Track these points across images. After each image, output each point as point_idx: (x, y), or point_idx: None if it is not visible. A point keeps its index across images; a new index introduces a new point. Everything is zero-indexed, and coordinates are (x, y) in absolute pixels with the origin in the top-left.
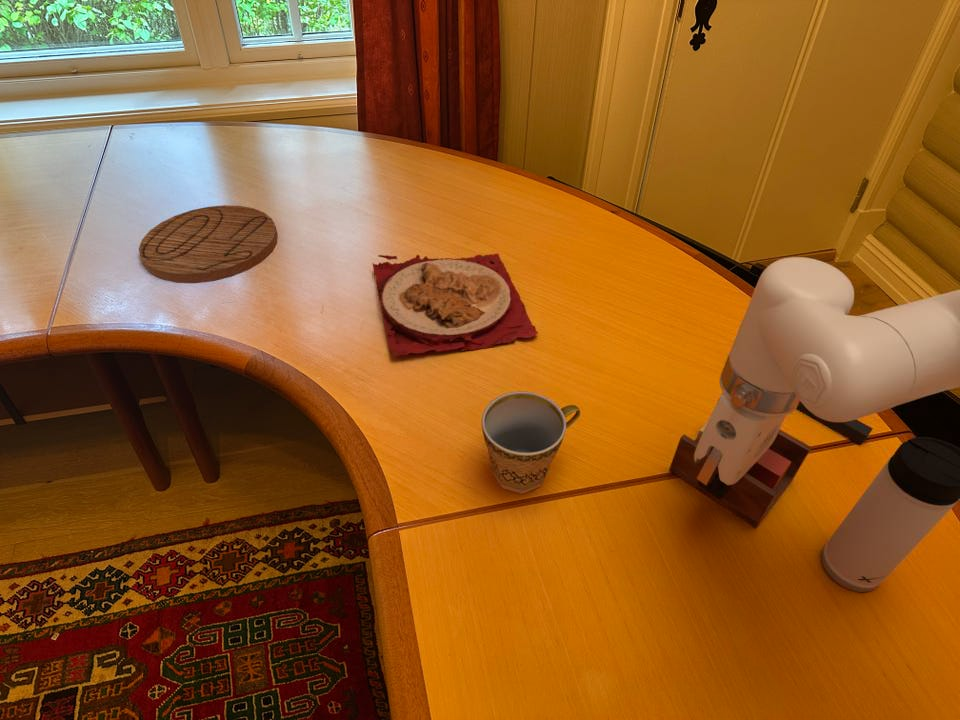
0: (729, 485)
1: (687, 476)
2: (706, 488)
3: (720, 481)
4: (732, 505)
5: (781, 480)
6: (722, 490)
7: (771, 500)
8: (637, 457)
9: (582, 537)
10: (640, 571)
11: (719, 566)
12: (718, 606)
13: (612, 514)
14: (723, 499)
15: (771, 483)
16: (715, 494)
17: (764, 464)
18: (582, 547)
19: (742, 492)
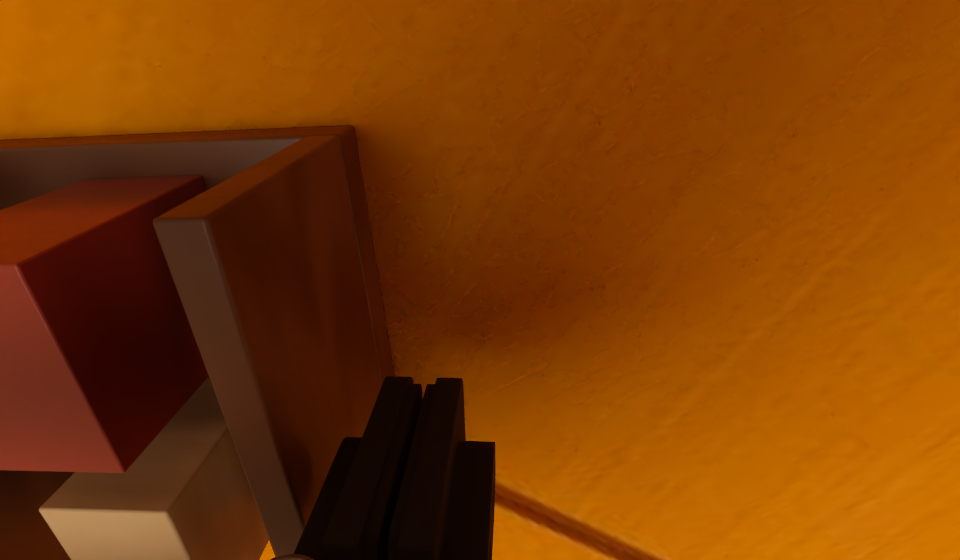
0: (392, 438)
1: None
2: (494, 480)
3: (476, 552)
4: (363, 270)
5: (39, 183)
6: (454, 442)
7: (237, 200)
8: None
9: (865, 519)
10: (894, 343)
11: (665, 136)
12: (888, 18)
13: (715, 503)
14: (368, 309)
15: (114, 244)
16: (461, 412)
17: (56, 377)
18: (905, 504)
19: (318, 321)
